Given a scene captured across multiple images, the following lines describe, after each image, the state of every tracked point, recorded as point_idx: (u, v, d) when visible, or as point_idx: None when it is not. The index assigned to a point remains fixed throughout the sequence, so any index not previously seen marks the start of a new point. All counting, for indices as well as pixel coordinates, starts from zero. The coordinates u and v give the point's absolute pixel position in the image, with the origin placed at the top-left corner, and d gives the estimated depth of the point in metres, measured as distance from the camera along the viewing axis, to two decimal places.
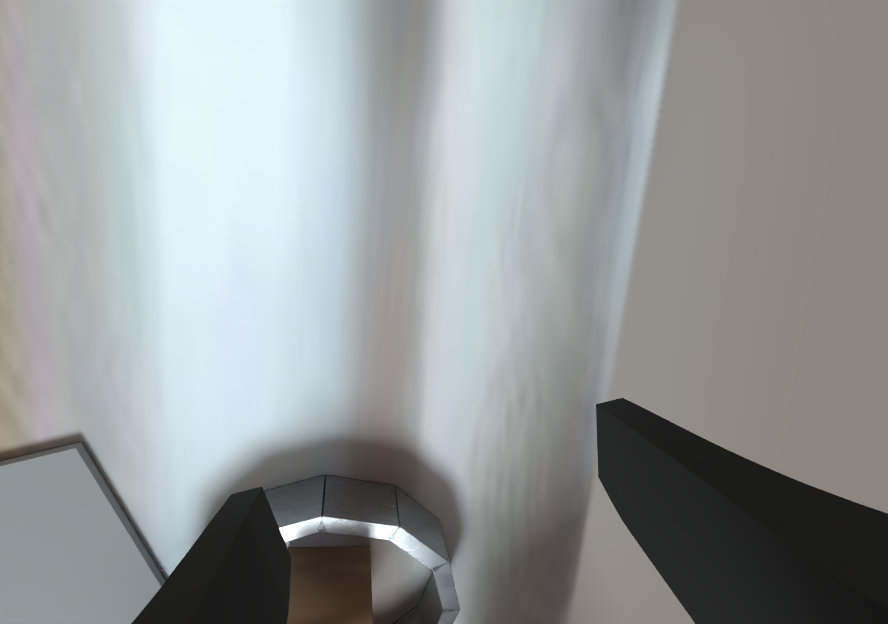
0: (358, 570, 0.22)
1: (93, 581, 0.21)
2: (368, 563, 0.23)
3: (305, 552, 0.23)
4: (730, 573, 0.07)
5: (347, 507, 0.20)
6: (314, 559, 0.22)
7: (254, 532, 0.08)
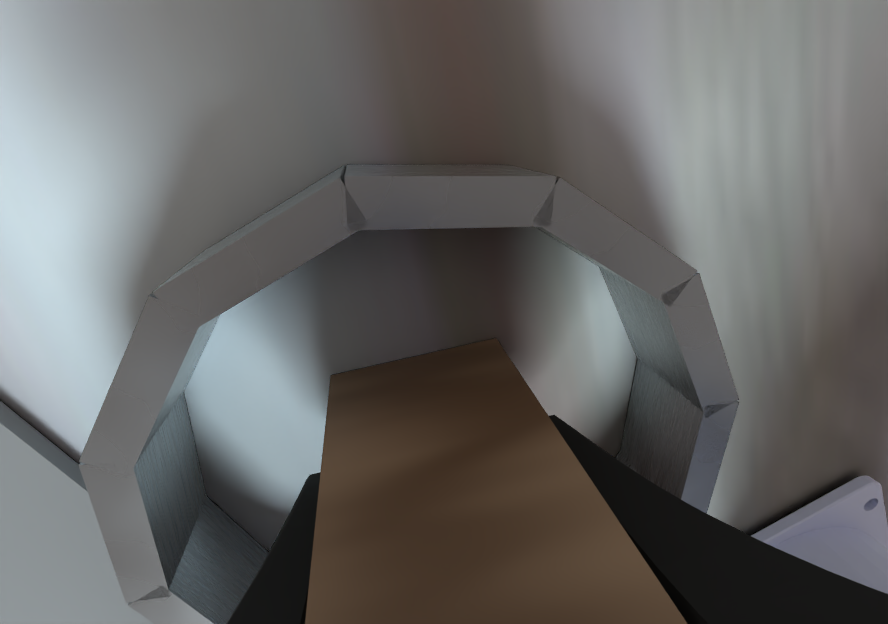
0: (487, 371, 0.10)
1: None
2: (504, 358, 0.10)
3: (367, 373, 0.10)
4: None
5: (409, 172, 0.08)
6: (388, 377, 0.10)
7: None
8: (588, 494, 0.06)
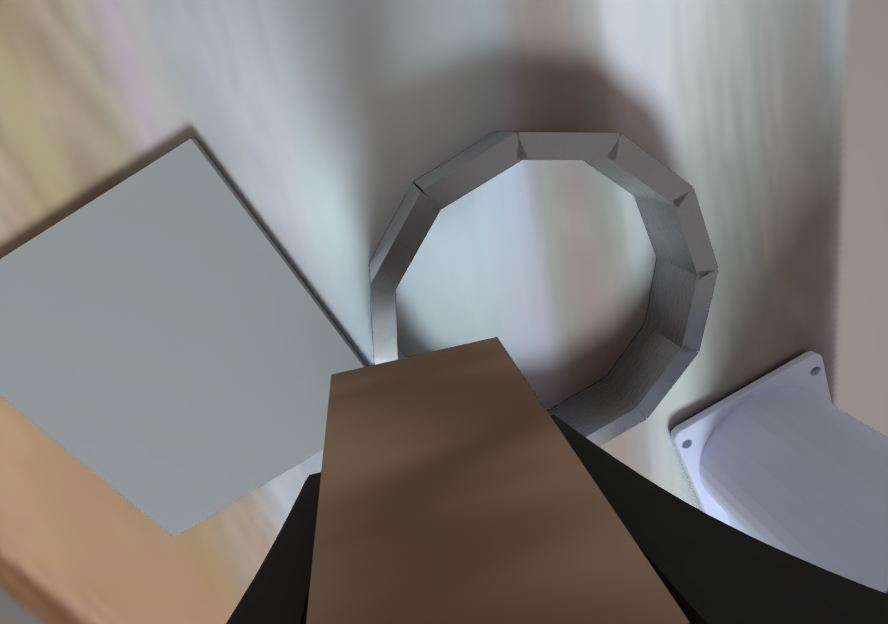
0: (488, 370, 0.10)
1: (266, 343, 0.17)
2: (505, 357, 0.10)
3: (367, 372, 0.10)
4: None
5: None
6: (388, 376, 0.10)
7: None
8: (589, 493, 0.06)
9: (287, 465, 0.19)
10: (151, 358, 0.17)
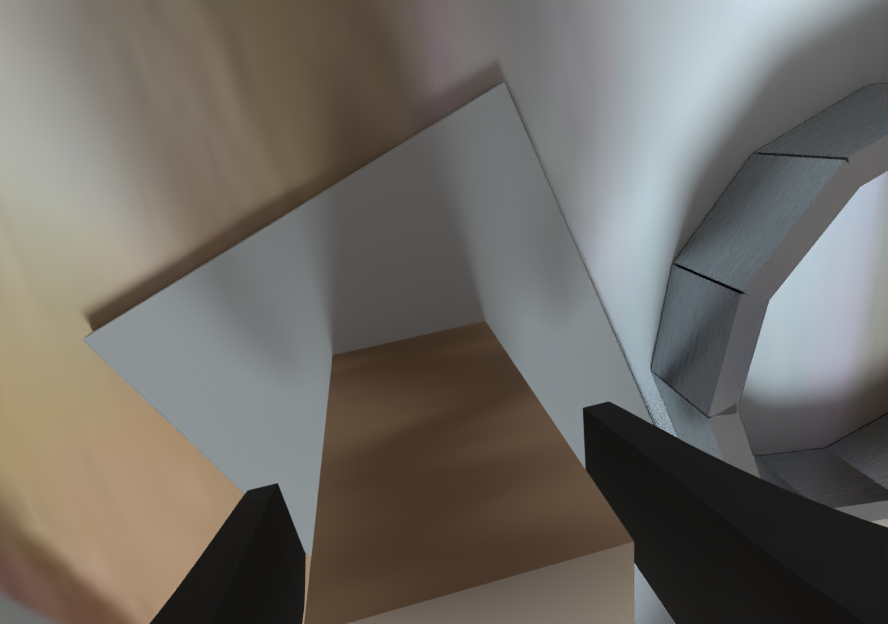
0: (476, 349, 0.11)
1: (534, 369, 0.13)
2: (492, 338, 0.11)
3: (366, 353, 0.11)
4: (711, 578, 0.07)
5: None
6: (385, 356, 0.11)
7: (271, 527, 0.08)
8: (559, 447, 0.07)
9: None
10: None
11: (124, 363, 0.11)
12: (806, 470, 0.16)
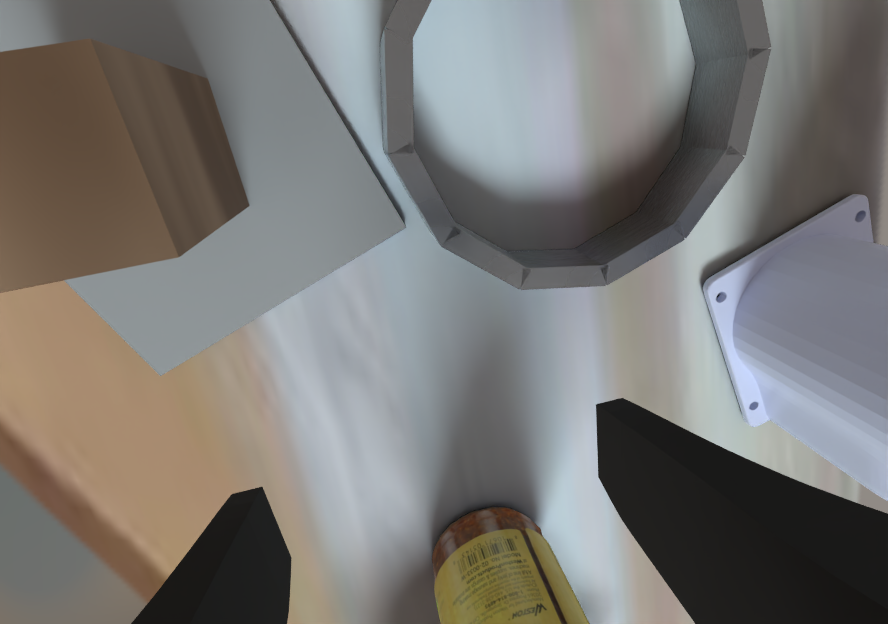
0: None
1: (264, 132, 0.15)
2: None
3: None
4: (730, 573, 0.07)
5: None
6: None
7: (254, 532, 0.08)
8: None
9: (287, 292, 0.17)
10: None
11: None
12: (541, 255, 0.18)
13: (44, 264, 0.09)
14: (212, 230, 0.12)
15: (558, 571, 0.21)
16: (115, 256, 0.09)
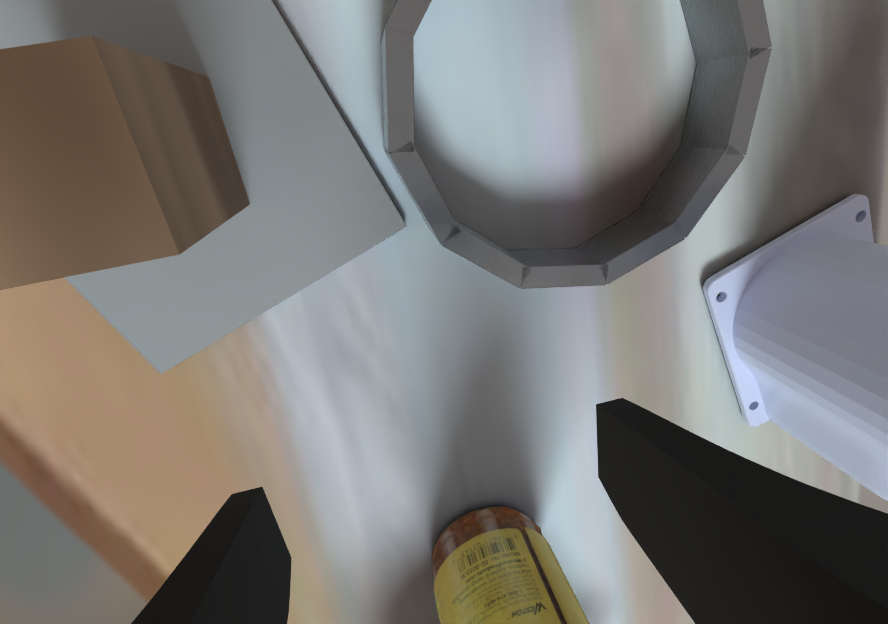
0: None
1: (265, 130, 0.15)
2: None
3: None
4: (730, 573, 0.07)
5: None
6: None
7: (254, 532, 0.08)
8: None
9: (287, 291, 0.17)
10: None
11: None
12: (541, 255, 0.18)
13: (46, 262, 0.09)
14: (213, 228, 0.12)
15: (558, 570, 0.21)
16: (116, 253, 0.09)
